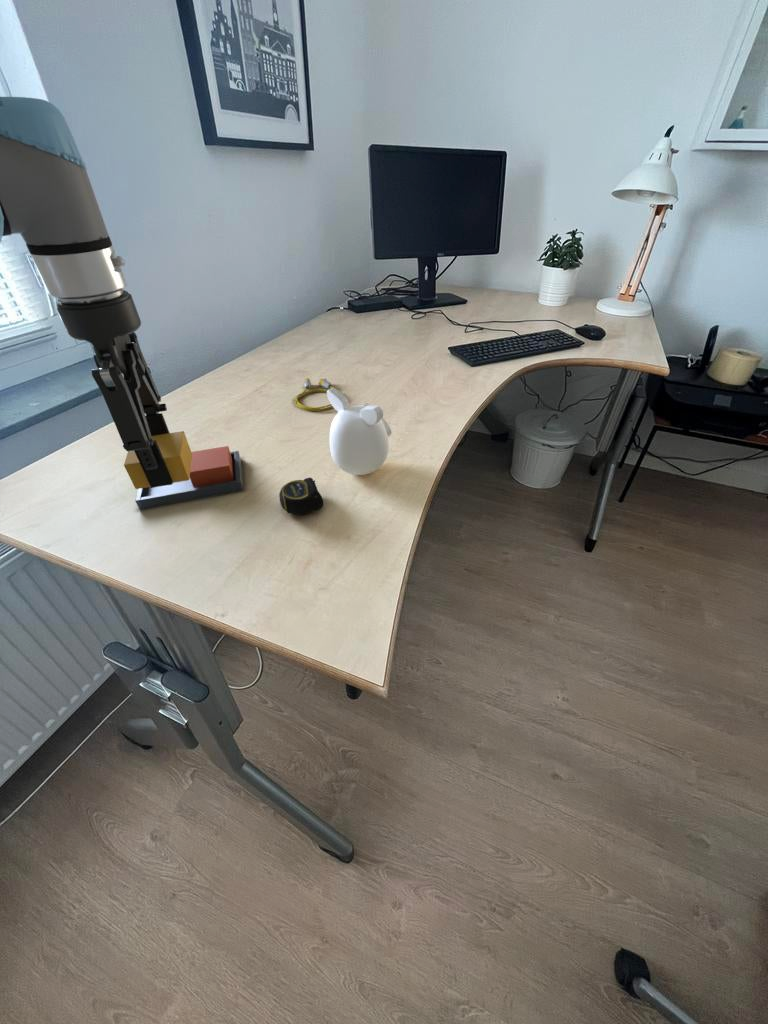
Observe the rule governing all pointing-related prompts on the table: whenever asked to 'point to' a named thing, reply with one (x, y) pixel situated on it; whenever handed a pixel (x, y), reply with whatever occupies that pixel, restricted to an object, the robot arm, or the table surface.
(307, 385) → the coiled yellow cable
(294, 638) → the table surface
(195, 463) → the pad terracotta
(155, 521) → the table surface
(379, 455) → the white bunny figurine
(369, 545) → the table surface
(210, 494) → the tray
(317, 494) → the tape measure
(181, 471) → the pad mustard
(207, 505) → the table surface
